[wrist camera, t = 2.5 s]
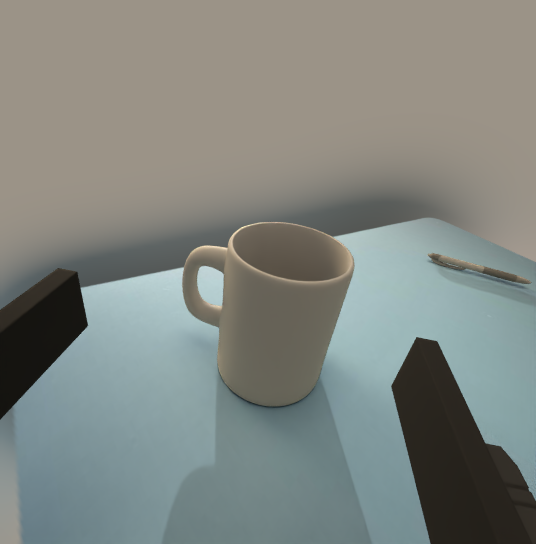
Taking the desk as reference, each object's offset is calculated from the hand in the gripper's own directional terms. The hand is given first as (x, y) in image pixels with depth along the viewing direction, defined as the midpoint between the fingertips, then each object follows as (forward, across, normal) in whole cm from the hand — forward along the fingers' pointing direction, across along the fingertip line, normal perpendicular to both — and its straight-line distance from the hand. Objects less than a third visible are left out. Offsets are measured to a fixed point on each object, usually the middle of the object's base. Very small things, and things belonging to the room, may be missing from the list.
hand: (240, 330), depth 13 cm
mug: (+10, 0, -12) cm, 15 cm away
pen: (+34, +29, -12) cm, 47 cm away
